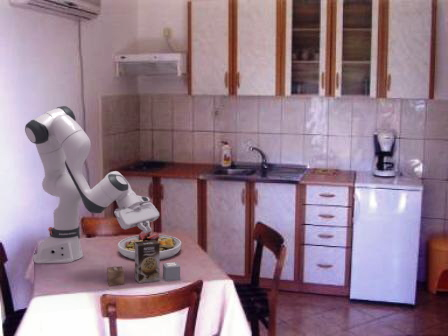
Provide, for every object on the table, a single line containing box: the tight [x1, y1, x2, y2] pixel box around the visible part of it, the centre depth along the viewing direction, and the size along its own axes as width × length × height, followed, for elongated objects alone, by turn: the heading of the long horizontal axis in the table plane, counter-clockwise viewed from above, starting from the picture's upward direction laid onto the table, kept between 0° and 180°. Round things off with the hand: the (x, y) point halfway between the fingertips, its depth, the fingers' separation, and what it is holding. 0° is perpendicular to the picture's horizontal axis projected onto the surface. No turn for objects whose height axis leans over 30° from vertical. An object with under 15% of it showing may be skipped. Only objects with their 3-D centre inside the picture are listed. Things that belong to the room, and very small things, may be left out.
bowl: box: [117, 230, 182, 261], centre depth 278 cm, size 30×30×8 cm
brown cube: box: [106, 265, 125, 287], centre depth 237 cm, size 6×6×6 cm
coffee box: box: [134, 240, 161, 284], centre depth 241 cm, size 9×6×16 cm
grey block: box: [162, 261, 181, 282], centre depth 243 cm, size 6×6×6 cm
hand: (148, 231), depth 239 cm, fingers closed
